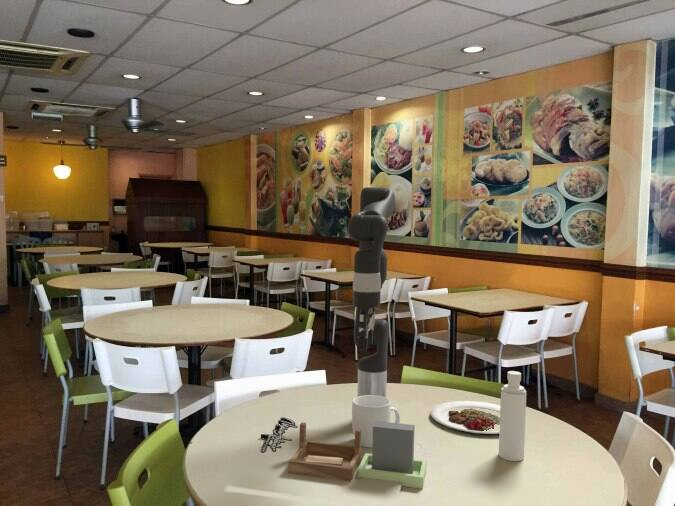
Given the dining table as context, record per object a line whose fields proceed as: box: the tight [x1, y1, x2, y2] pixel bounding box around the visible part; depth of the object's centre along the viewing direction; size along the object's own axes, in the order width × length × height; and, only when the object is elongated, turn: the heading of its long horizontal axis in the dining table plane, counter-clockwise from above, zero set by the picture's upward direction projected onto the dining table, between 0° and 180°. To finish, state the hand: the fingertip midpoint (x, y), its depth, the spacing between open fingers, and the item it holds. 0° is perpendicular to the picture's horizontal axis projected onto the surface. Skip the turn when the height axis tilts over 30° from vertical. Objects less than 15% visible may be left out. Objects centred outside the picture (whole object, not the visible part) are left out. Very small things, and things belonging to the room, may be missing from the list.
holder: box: [357, 452, 427, 490], centre depth 141 cm, size 10×16×3 cm, turn 76°
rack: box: [288, 422, 364, 482], centre depth 144 cm, size 14×16×10 cm
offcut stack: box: [305, 455, 344, 466], centre depth 140 cm, size 4×10×3 cm, turn 76°
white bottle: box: [498, 370, 527, 462], centre depth 153 cm, size 7×7×25 cm
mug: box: [351, 395, 401, 449], centre depth 160 cm, size 15×11×13 cm
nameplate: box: [259, 416, 299, 454], centre depth 165 cm, size 27×2×10 cm
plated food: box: [430, 400, 500, 435], centre depth 182 cm, size 30×30×3 cm
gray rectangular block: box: [371, 421, 415, 474], centre depth 140 cm, size 4×10×12 cm, turn 77°
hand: (365, 348), depth 152 cm, fingers open, 8 cm apart
